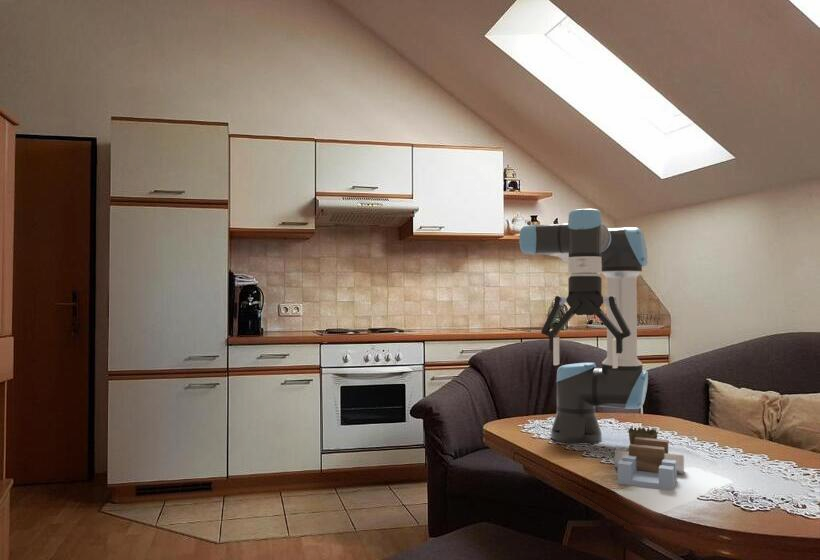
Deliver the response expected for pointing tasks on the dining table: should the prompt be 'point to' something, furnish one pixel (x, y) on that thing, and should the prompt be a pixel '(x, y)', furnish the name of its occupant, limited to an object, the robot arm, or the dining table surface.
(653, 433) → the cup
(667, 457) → the white long block
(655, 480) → the cradle
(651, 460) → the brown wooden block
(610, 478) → the dining table surface
